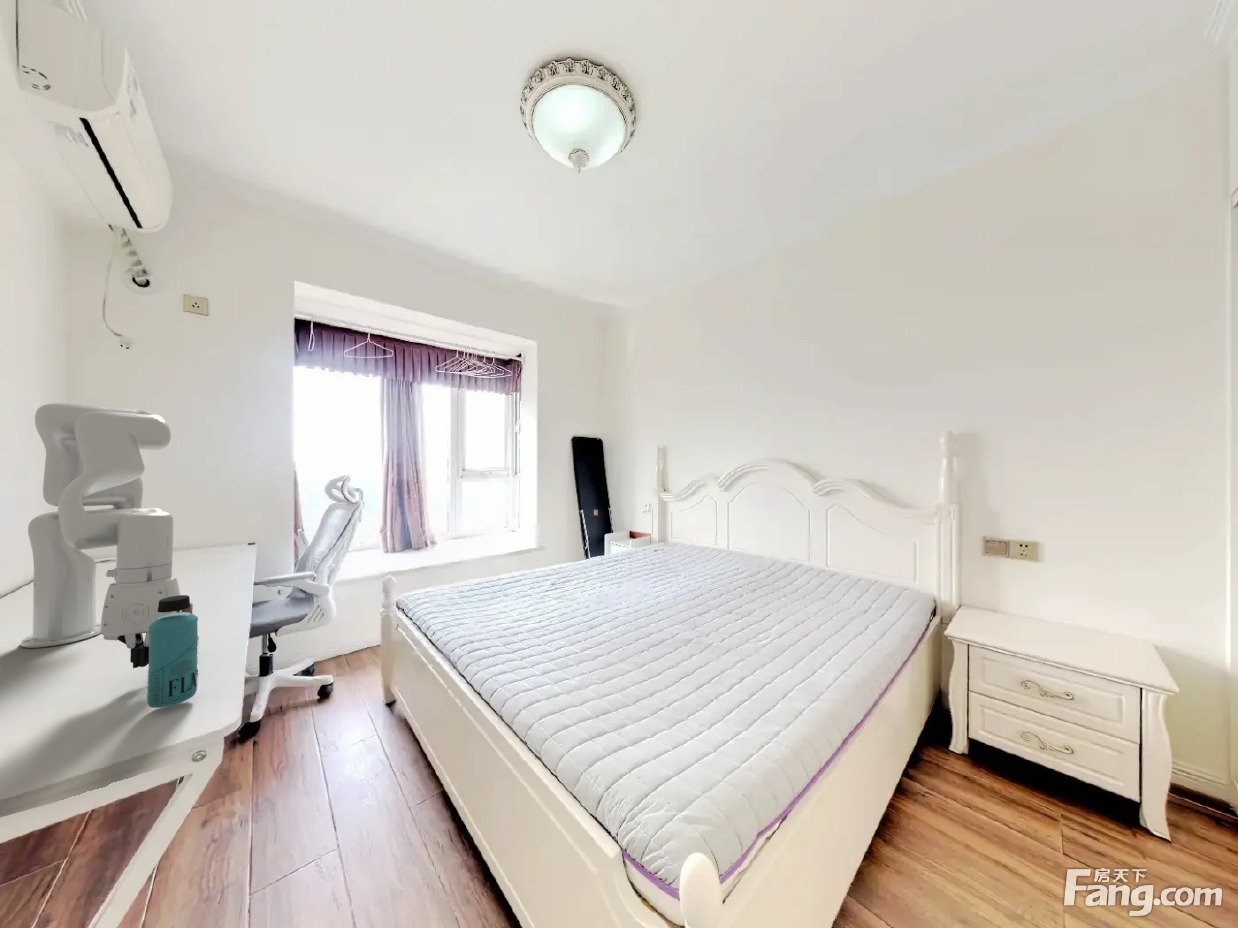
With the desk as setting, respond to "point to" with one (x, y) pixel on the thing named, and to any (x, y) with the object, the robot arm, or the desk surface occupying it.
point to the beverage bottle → (172, 654)
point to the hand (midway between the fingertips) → (142, 664)
